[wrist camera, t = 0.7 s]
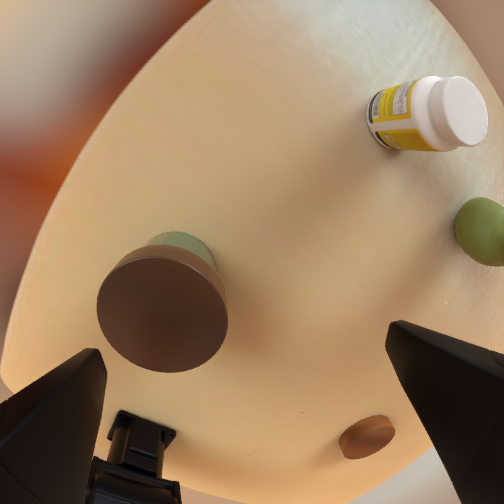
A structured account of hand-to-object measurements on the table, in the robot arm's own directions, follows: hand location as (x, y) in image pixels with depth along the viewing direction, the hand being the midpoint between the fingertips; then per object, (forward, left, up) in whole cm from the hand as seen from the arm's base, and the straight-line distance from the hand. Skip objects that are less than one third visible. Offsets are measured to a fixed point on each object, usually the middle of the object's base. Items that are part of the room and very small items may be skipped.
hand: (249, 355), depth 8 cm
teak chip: (-14, -27, -13) cm, 33 cm away
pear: (+12, -18, -13) cm, 25 cm away
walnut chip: (-4, +2, -8) cm, 9 cm away
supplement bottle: (+14, -6, -13) cm, 20 cm away
